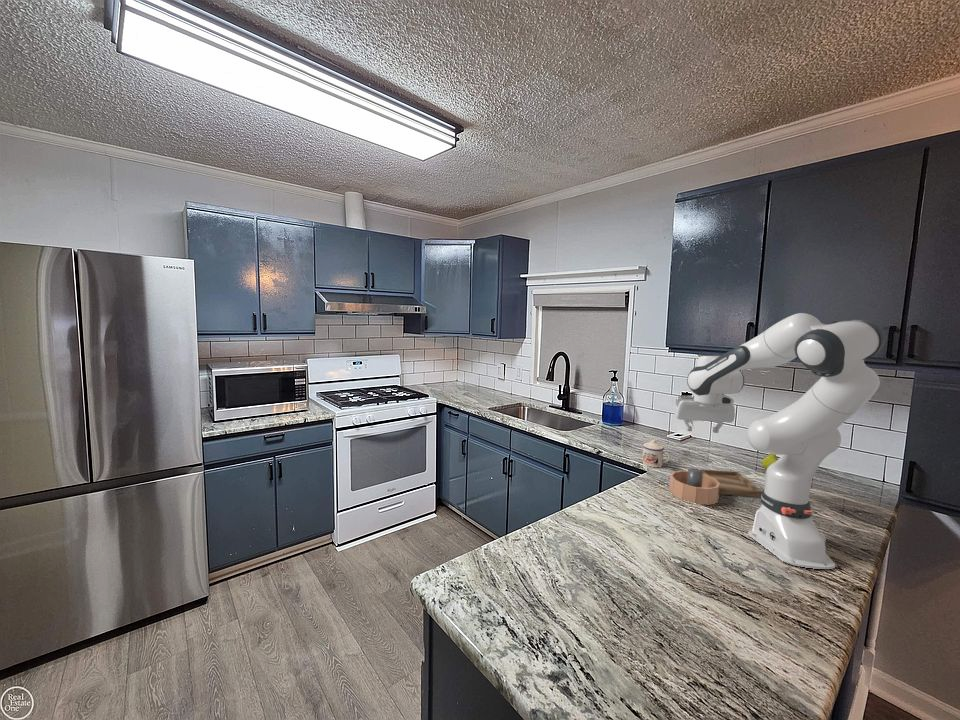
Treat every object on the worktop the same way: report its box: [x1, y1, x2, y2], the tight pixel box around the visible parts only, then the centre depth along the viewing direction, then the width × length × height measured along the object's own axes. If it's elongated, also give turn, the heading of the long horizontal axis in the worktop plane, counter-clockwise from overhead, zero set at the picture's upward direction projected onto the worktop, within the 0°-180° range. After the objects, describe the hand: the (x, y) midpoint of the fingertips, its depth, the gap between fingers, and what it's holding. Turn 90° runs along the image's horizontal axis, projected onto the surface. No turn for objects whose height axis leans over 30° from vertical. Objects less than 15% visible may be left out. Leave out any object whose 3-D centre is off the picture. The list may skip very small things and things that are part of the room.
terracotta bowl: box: [668, 470, 720, 505], centre depth 156 cm, size 17×17×6 cm
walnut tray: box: [699, 469, 763, 499], centre depth 165 cm, size 20×15×2 cm
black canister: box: [687, 467, 703, 487], centre depth 155 cm, size 5×5×10 cm
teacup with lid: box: [642, 439, 671, 468], centre depth 186 cm, size 12×9×12 cm
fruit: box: [761, 453, 779, 471], centre depth 180 cm, size 7×7×12 cm
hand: (702, 431), depth 153 cm, fingers open, 8 cm apart
